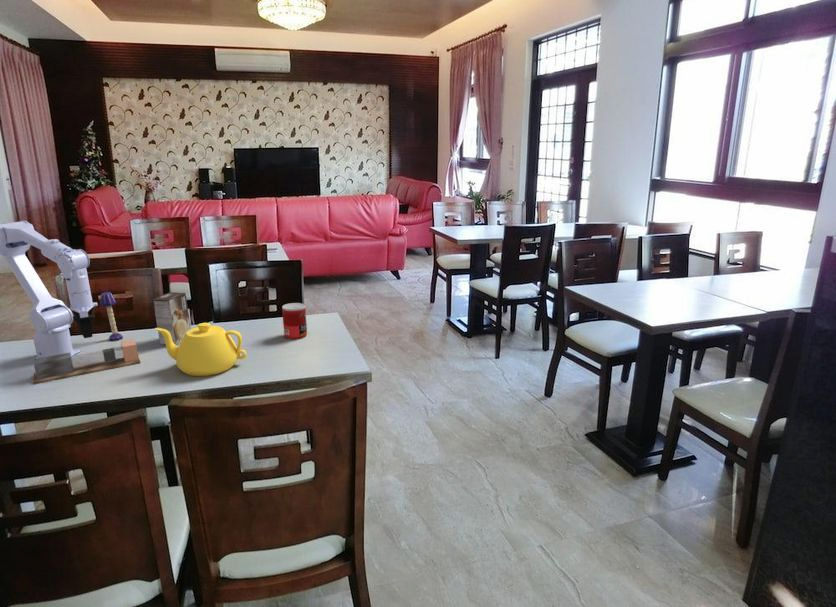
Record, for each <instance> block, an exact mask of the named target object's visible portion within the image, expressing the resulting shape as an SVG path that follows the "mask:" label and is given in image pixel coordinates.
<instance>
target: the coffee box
mask: <svg viewBox="0 0 836 607" xmlns="http://www.w3.org/2000/svg"><path fill="white" fill-rule="evenodd" d="M152 303H153V308H154V315H155V321H156V328H162V329H165V330H167V331H168V332H169V333H170V334H171V337H172V341H173V343H174V344H175V345H176V346H178V345H180V343H181V341H182V339H183V337H184V335H185V334H186V332H187V331H189V330H190V329H192V327H191V322H190V321H191V320H190V315H189V308H188V302H187V295H186V292H171V291H170V292H167V293H165V294H163V295H160V296H157V297H156V298H153V299H152ZM157 332H158V340H159V344H160V345H164V344H165V339H164V336H163V335H162V334H161V332H159V331H158V330H157ZM177 344H178V345H177Z"/></svg>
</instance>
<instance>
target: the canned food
mask: <svg viewBox="0 0 836 607" xmlns="http://www.w3.org/2000/svg"><path fill="white" fill-rule="evenodd" d="M306 311H307V310H306V305H305V303H301V302H291V303H286V304H283V305H282V306H281V312H282V322H283V323H282V325H283V326H282V327H283V335H284V337H285V338H286V339H288V338H289V339H288V340H300V338H301V339H304V338H306V337H307V336H308V327H307V312H306ZM305 336H306V337H305ZM303 337H304V338H303Z"/></svg>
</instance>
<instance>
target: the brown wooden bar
mask: <svg viewBox="0 0 836 607" xmlns="http://www.w3.org/2000/svg"><path fill="white" fill-rule="evenodd" d="M138 358H139V360H137V361H132V362H127V363H125V361H124V358H118V359H116V360H111V361H106V362H105V361H103V362H97V363H92V364H87V365H82V366H76V367H73V365H72V360H71V353H64V354H59V355H53V356H48V357H42V358H37V357H36V358H34V359H33V368H34V371H35V372H33V374H32V375H33V376H32V377H33V378H32V385H36V384H43V383H47V382H52V380H53V381H57V380H63V379H66V378H67V379H68V378H73V377H77V376H84V375H87V374H88V375H89V374H92V373H96V372H97V373H98V372H102V371H103V372H104V371H108V370H113V369H117V368H123V367H128V366H133V365H138V364H139V365H140V364H141V360H140V357H139V356H138Z"/></svg>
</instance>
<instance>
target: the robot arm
mask: <svg viewBox="0 0 836 607" xmlns="http://www.w3.org/2000/svg"><path fill="white" fill-rule="evenodd" d="M31 246H33V247H35V248H36V249H38V250H40V252H41V254H42V256H44V257H45V258H47V259H49V260H50V261H52V262H54V263H56V265H57V267H58V268H59V270H60V272H61V275H62V277H63V278H64V279H65V284H66V288H67V289H66V290H67V293H68V299H69V303H70V304H69V305H70V307H68V306H67V305H66V304H65V303H64V301H62V300H60V299H57V298H55V297H52V296H51V294H50V293H49V291H48V288H46V285H44V283H43V281H42V280H41V278H40V276H39V274H38V273H37V272H36V270H35V268H34V266H33V265H32V263H31V262H30V260H29V259H28V257H27V256H26V252H27V251H28V250H30V247H31ZM0 255H1V256H2V257H3V259H4V260H5V262H6V263H7V265H8V266H9V268H10V269H11V271H12V273H13V274H14V276H15V277H16V279H17V281H18V282H19V284H20V285H21V288H22V289H23V291H24V292H25V293H26V295H27V297H28V299H29V301H30V302H31V303H32V305H33V306H32V307H31V308H30V311H29V312H28V316H29V318H30V321H31V324H32V327H33V328H34V329H35V331H36V332H35V333H34V335H33V344H34V348H35V353H36V358H42V357H48V356H53V355H59V354H64V353H71V356H75V355H78V353H80V352H81V350H80V349H74V348H73V343H72V338H71V333H70V329H69V328H71V324H72V323H73V322H75V323H76V325H77V326H78V328H79V329H80V332H81V336H82V337H83V338H84V339H87V338H88V339H89V338H93V332H94V331H93V328H94V326H93V325H94V321H95V319H96V314H94V313H93V312H94V307H98V306H99V305H98V302H93V297H92V292H91V287H90V283H89V282H90V281H89V276H88V271H87V270H88V269H87V268H89V267H90V262H91V260H90V257H89V255H88V253H87V252H86V251H85V250H83V249H81V248H79V249H76V248H75V249H73V248H72V247H70V246H67V245H66V244H64V243H62V242H60V240H59V239H58V238H54V239H48V238H46V237H45V236H44V235H43V234H41V233H39V232H38V231H36V230H35V228H34V225H33V223H30V222H28V221H27V220H20V221H16V222H8V223H0ZM92 313H93V314H92Z"/></svg>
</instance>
